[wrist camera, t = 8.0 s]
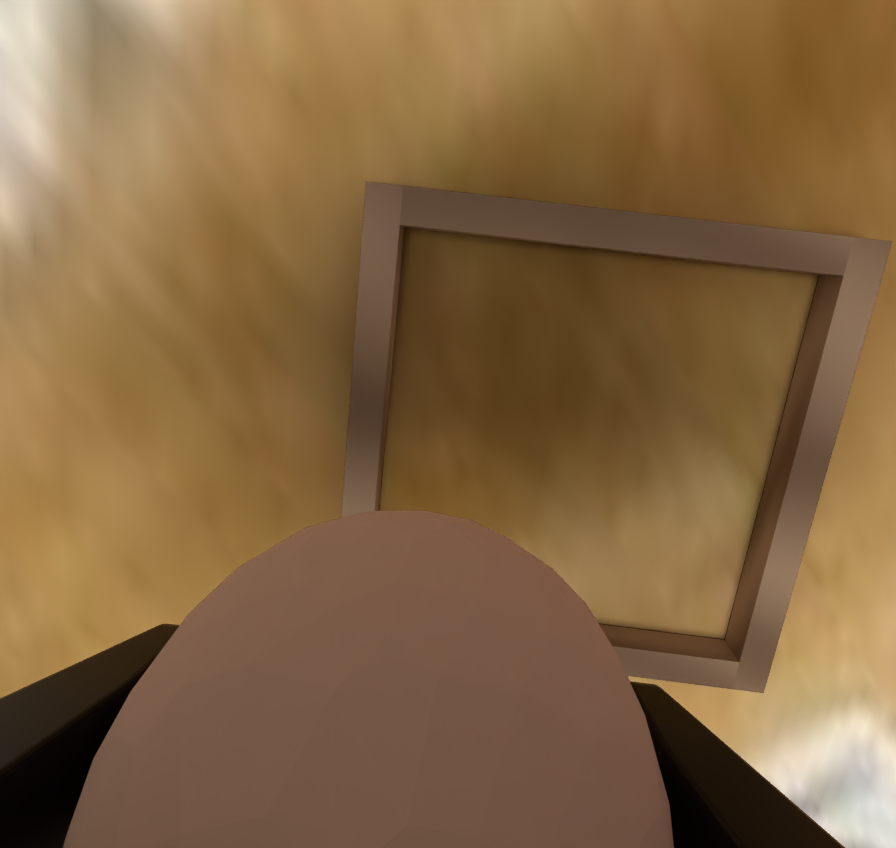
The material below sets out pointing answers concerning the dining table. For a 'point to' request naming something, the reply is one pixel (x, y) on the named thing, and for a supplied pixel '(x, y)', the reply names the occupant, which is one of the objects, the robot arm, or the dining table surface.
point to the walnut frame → (830, 256)
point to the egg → (381, 707)
